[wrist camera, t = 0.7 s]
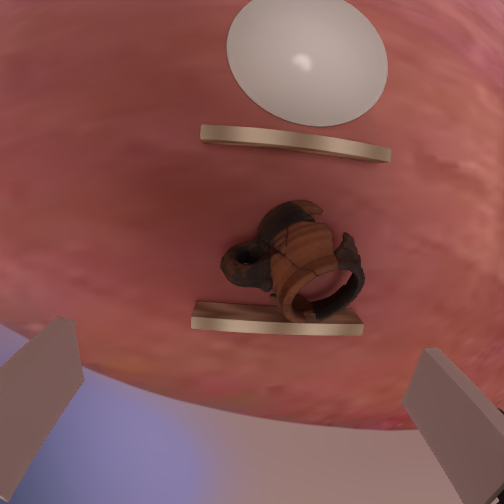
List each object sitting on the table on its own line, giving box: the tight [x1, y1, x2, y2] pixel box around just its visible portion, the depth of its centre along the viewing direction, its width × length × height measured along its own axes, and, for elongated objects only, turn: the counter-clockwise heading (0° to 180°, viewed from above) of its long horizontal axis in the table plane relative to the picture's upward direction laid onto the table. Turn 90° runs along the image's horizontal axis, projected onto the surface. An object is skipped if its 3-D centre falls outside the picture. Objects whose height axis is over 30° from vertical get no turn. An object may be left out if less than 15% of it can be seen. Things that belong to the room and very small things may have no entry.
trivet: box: [227, 0, 388, 127], centre depth 24 cm, size 16×16×1 cm
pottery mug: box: [220, 200, 365, 323], centre depth 26 cm, size 12×9×8 cm
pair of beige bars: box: [191, 124, 391, 335], centre depth 27 cm, size 16×17×4 cm
